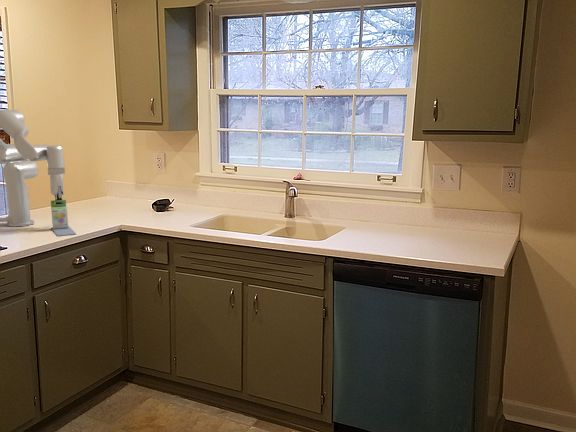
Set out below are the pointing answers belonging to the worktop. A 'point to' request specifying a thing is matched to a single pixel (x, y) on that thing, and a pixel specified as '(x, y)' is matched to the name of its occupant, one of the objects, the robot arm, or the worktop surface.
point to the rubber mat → (64, 231)
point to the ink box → (59, 214)
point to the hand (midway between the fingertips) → (59, 208)
